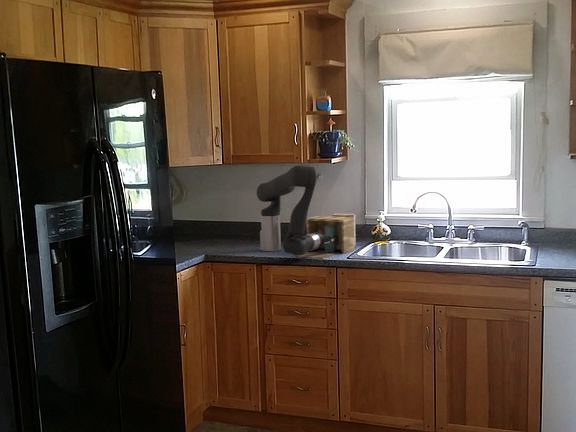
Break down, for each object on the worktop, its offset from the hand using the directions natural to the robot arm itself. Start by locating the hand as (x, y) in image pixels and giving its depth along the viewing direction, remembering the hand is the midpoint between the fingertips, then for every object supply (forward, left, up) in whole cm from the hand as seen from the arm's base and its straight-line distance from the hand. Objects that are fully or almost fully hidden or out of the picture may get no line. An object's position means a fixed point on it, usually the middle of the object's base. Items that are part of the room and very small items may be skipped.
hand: (329, 236), depth 341 cm
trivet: (0, -14, -7) cm, 16 cm away
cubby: (0, +1, -7) cm, 7 cm away
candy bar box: (0, +16, -7) cm, 17 cm away
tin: (0, +1, -7) cm, 7 cm away
